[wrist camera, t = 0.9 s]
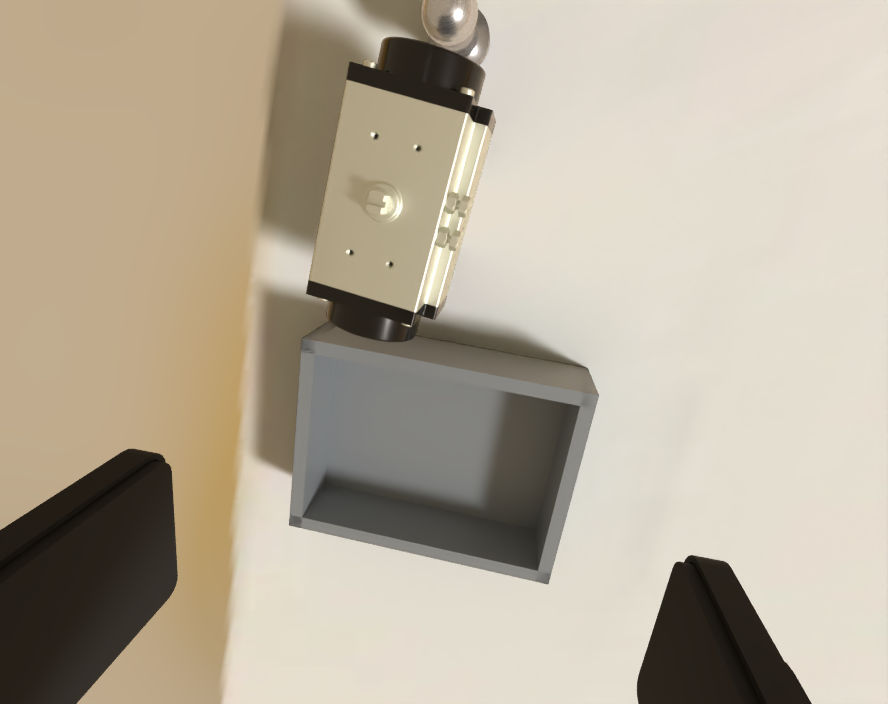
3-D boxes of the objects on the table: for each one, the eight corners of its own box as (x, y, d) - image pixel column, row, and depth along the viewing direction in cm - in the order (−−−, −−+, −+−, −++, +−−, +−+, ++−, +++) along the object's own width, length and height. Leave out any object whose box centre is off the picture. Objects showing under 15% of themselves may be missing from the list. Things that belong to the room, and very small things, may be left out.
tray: (330, 319, 33) (302, 338, 28) (587, 368, 31) (598, 395, 27) (316, 486, 37) (289, 525, 32) (544, 536, 35) (548, 584, 31)
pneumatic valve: (370, 285, 32) (287, 332, 20) (416, 84, 28) (346, 4, 17) (454, 310, 31) (418, 373, 20) (512, 111, 28) (508, 48, 16)
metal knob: (435, 3, 27) (414, -46, 21) (494, 10, 26) (488, -38, 21) (426, 70, 28) (405, 39, 22) (484, 78, 27) (475, 48, 22)
